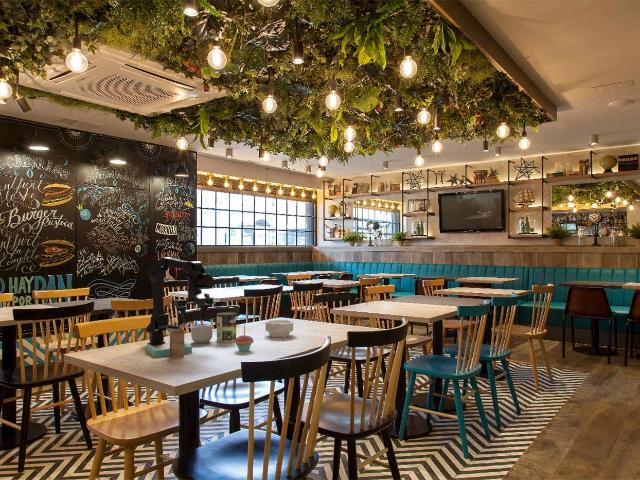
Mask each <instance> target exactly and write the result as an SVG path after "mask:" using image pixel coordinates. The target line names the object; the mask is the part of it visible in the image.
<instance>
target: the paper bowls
mask: <svg viewBox="0 0 640 480" xmlns="http://www.w3.org/2000/svg"><path fill="white" fill-rule="evenodd" d="M265 331H266V332H268V334H269V336H270V337H272V338H287V337H289V336H290V333H291V332H293V331H294V322H293V320H288V319H287V320H286V319H271V320H266V321H265Z"/></svg>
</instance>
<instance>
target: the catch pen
mask: <svg viewBox="0 0 640 480" xmlns="http://www.w3.org/2000/svg"><path fill="white" fill-rule="evenodd" d="M146 352H148V353H149V354H150V355H152V356H153V357H154V358H163V357H170V347H169V348H163V349H157V348H155V347H154V345H151V344H147V345H146ZM192 353H193V346H192V345H190V344H188V343H187V342H185V341H184V355H185V354H192Z"/></svg>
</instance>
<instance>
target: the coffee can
mask: <svg viewBox="0 0 640 480" xmlns="http://www.w3.org/2000/svg"><path fill="white" fill-rule="evenodd" d="M236 338H237V312H232V311H226V312H225V311H223V312H217V313H216V342H218V343H231V342H235V339H236Z"/></svg>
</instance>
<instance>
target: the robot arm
mask: <svg viewBox="0 0 640 480" xmlns="http://www.w3.org/2000/svg"><path fill="white" fill-rule="evenodd" d="M170 267H173V268H177V269H181V270H183V272H185V273H187V274H186V275H184V278H186V279H187V289H186V292H187V297H186V299H182V298H181V299H173V302H172V306H174V307H175V308H177V309H178V311H179V313H180V315H181V317H182V319H183V321H184V322H185V321H186V320H187V308H188V307H187V305H194V304H196V305H199V307H200V318H201V319H202V320H204V317H205V315H206V312H207V310H208V308H209V307H211V306H212V305H213V304H214V302H215V301H214V298H213V297H210V293H208V292H205V293H202V289H210V290H211V289H213V287H214V285H215V279H214V277H213V276H212V274H211V273H208V272H207V271H206V269H205V268H204V266H203V263H202V262H201V261H198V260H197V261H196V260H195V261H193V260H192V261H186V260H181V259H177V258H174V257H171V256H164V257H161V258H160V259H159V260H158V261H156V262H153V264H151V265H150V266H148V268H147V276H148V277H147V278H148V279H149V281H150V283H151V287H152V289H151V290H152V291H151V292H152V307H153V308H152V309H153V312H152V314H151V316H150V321H149V324H148V325H147V326H146V327H145V330H146V333H148V334H149V342H148V343H146V344H147V345H148V344H150V345H151V346H159V345H162V344H163V345H164V344H166V343H167V342H166V341H165V340H164V339H165V337H164V336H165V334H164V332H165V331H167V327H168V325H169V322H170V319H169V317H170V316H169V313H166V312H165V306H164V304H165V303H164V290H163V289H164V286H163V282H164V279H165V277H166V272H168V270H169V269H170ZM207 273H208V274H207Z"/></svg>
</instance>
